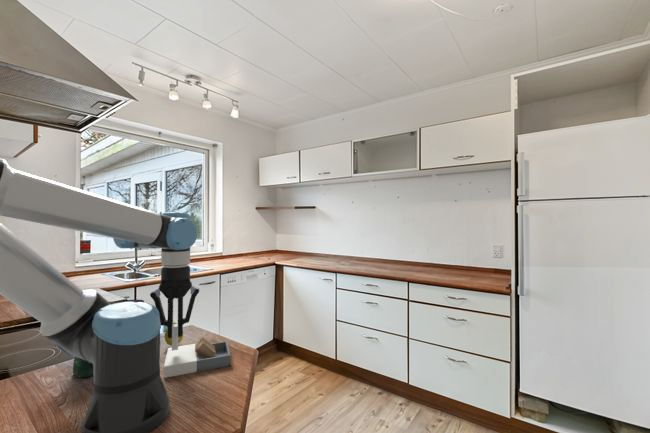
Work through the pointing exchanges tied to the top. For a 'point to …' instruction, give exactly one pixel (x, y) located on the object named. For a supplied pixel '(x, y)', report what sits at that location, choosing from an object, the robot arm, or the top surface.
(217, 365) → the tray
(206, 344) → the brown wooden block
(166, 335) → the lemon
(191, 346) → the board
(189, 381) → the top surface
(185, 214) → the robot arm
